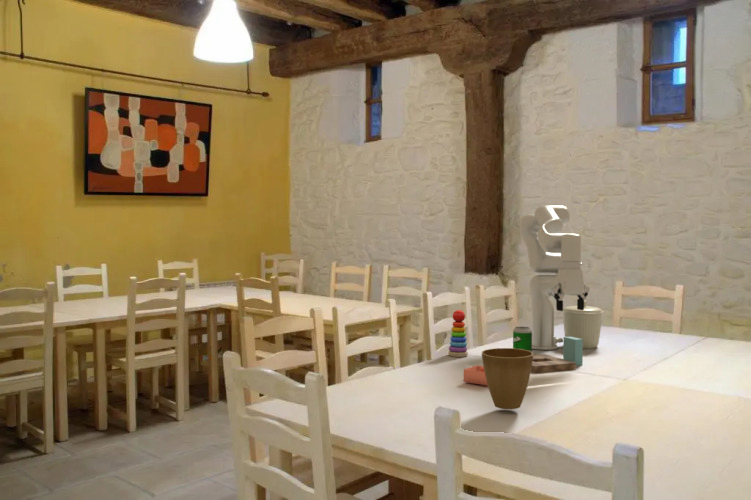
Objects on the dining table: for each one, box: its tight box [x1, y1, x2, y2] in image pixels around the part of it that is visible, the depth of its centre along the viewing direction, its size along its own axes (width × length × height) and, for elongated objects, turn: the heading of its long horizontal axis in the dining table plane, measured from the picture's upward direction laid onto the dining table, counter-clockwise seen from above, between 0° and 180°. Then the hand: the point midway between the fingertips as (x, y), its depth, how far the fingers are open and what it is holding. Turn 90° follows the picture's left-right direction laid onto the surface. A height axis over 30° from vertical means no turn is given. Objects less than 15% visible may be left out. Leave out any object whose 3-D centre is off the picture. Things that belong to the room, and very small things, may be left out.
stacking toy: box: [448, 309, 469, 358], centre depth 281 cm, size 8×8×19 cm
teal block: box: [562, 336, 584, 367], centre depth 265 cm, size 4×7×10 cm, turn 23°
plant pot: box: [481, 347, 534, 410], centre depth 201 cm, size 15×15×16 cm
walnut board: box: [530, 353, 577, 374], centre depth 260 cm, size 18×18×4 cm
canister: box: [561, 299, 605, 350], centre depth 301 cm, size 18×18×21 cm
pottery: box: [463, 364, 488, 387], centre depth 239 cm, size 18×10×10 cm, turn 141°
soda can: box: [512, 326, 533, 352], centre depth 279 cm, size 8×8×12 cm
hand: (570, 310), depth 265 cm, fingers open, 9 cm apart
